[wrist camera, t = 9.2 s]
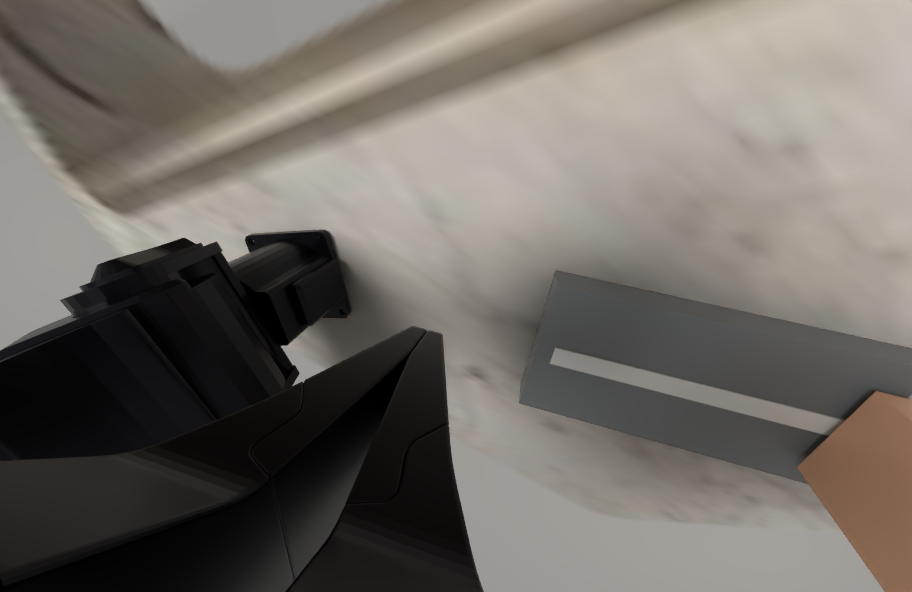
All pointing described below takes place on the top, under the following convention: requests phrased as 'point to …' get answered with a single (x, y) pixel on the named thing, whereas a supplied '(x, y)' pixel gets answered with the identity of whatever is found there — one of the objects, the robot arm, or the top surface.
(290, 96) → the top surface
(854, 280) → the top surface
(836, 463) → the fader knob
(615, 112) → the top surface
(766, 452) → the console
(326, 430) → the robot arm
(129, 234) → the top surface
